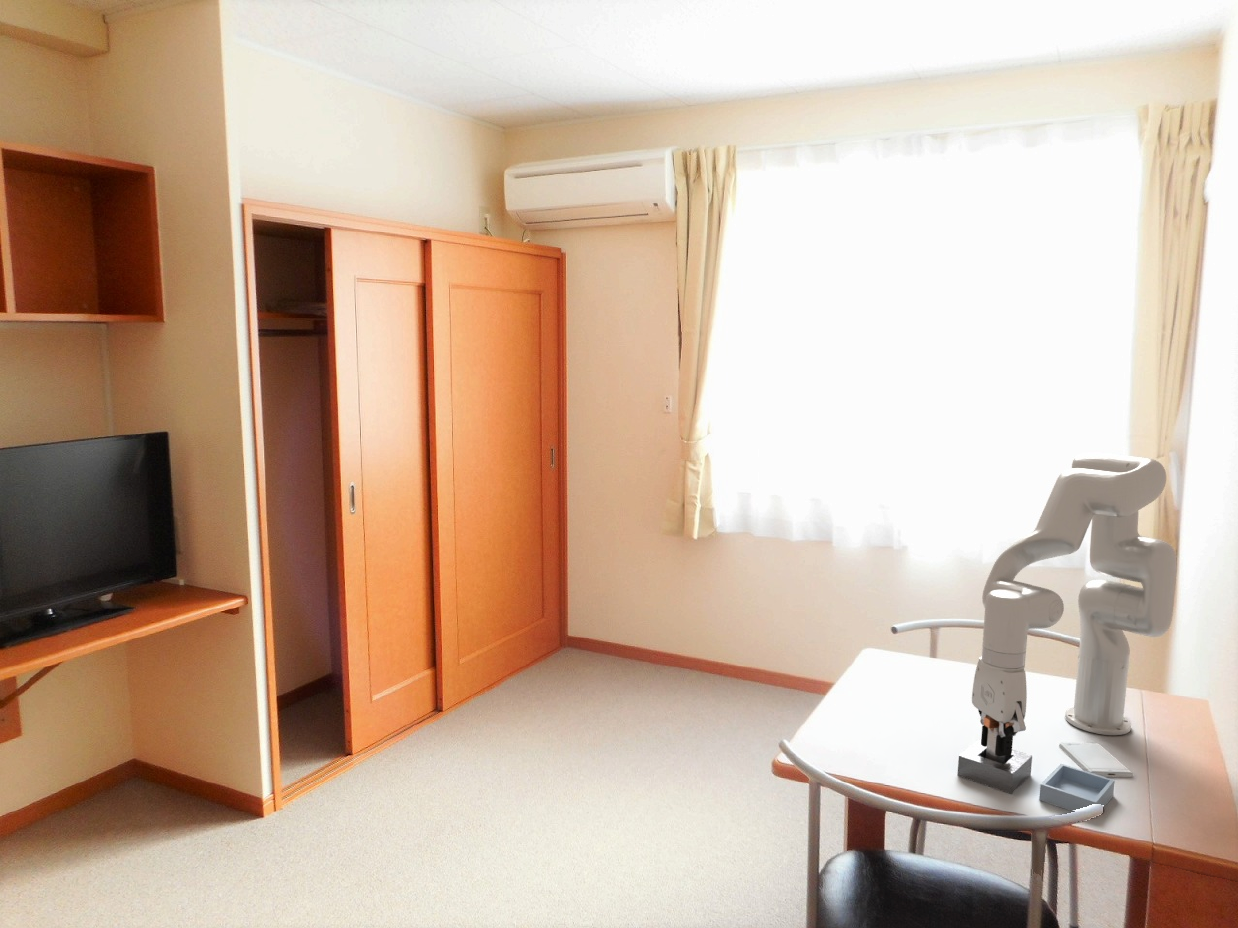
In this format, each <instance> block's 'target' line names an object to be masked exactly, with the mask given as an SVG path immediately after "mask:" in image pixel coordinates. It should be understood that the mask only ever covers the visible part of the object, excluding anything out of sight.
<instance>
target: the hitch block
mask: <svg viewBox="0 0 1238 928" xmlns="http://www.w3.org/2000/svg"><path fill="white" fill-rule="evenodd" d="M986 749H987V746H985V747H984V746H982V745H981V738H979V739H978V740H977V741H975V742H973V744H972V745H970V746H969V747H968V748H966V749H965V750H964V751H963V752H961V753H960V754H958V763H957V776H958V777H960V778H964V779H966V780H969V781H971V782H976V783H977V784H978V783H979V784H981V785H984V786H987V787H989V788H993V789H995V790H998V791H1002V792H1004V793H1007V794H1010V795H1012V794H1013V793H1014V792H1016V790H1017V789H1019V787H1020V786H1021V785H1022V784H1023V783H1024V782H1026V781H1027V780H1028V779H1029V778H1030V776H1031V775H1032V762H1033V755H1032V754H1028V753H1026V752H1023V751H1019V750H1017V749H1013V748H1012V754H1011V755H1006V758H1005V764H1002V763H999V762H996V761H993V760H989V759H986Z"/></svg>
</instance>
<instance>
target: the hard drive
mask: <svg viewBox="0 0 1238 928" xmlns="http://www.w3.org/2000/svg"><path fill="white" fill-rule="evenodd" d="M1058 748H1059V749H1061V751H1062V752H1064V753H1065V754H1066V755H1067V756H1068V757H1069V758H1070V759H1071V760H1072V761H1074V763H1076V765H1077V766H1079V767H1080V768H1081V770H1083V771H1086V772H1090V773H1093V774H1096V775H1099V776H1102V777H1106V778H1108V777H1110V778H1111V777H1114V778H1115V777H1116V778H1117V777H1118V778H1122V777H1123V778H1133V777H1134V773H1133V772H1132V771H1131V770H1130V769H1129V768H1128V767H1126V766H1125V765H1124V764H1123V763H1122V762H1121V761H1119V760H1118V758H1116V756H1114V755H1112V753H1110V752H1109V751H1108V750H1107V749H1106V748H1105V747H1103V746H1102V745H1101V744H1100V743H1097V742H1096V743H1095V742H1060V743H1059V745H1058Z"/></svg>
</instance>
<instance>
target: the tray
mask: <svg viewBox="0 0 1238 928" xmlns="http://www.w3.org/2000/svg"><path fill="white" fill-rule="evenodd" d="M1039 786H1040V787H1039V796H1038V800H1039V801H1042V802H1044V803H1047V804H1050V805H1053V806H1056V807H1059V808H1063V809H1064V810H1068V811H1071V812H1073V811H1072V810H1076V809H1080V808H1083V807H1087V806H1089V805H1092V804H1101V805H1104V808H1105V807H1106V805H1107V804H1108V803H1109V802H1110V800H1111V799H1112V798H1113V796H1114V790H1115V779H1113V778H1112V779H1111V778H1108V777H1107V776H1099V775H1096V774H1093V773H1090V772H1086V771H1084V770H1083V769H1079V768H1076V767H1073V766H1070V765H1066V764H1064V763H1060V764H1059V765H1058V766H1057V767H1056V768H1054V770H1053V771H1052V772H1051V773H1050V774H1049V775H1048V776H1047V777H1046V778H1045V779H1044V780H1043V781H1042V782H1041V783H1040V785H1039Z"/></svg>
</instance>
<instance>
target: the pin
mask: <svg viewBox="0 0 1238 928" xmlns="http://www.w3.org/2000/svg"><path fill="white" fill-rule="evenodd" d="M984 725H985V726H986V727H988V736H987V749H986V759H989V760H993V761H996V762H999V763H1002V764H1005V758H1006V756H997V755H995V748H996V736H997V735H999V722H998V721H996V720H994V719H993V718H991V717H989V716H986V717H984ZM1008 726H1009V723H1007V724H1006V728H1007V727H1008Z"/></svg>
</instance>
